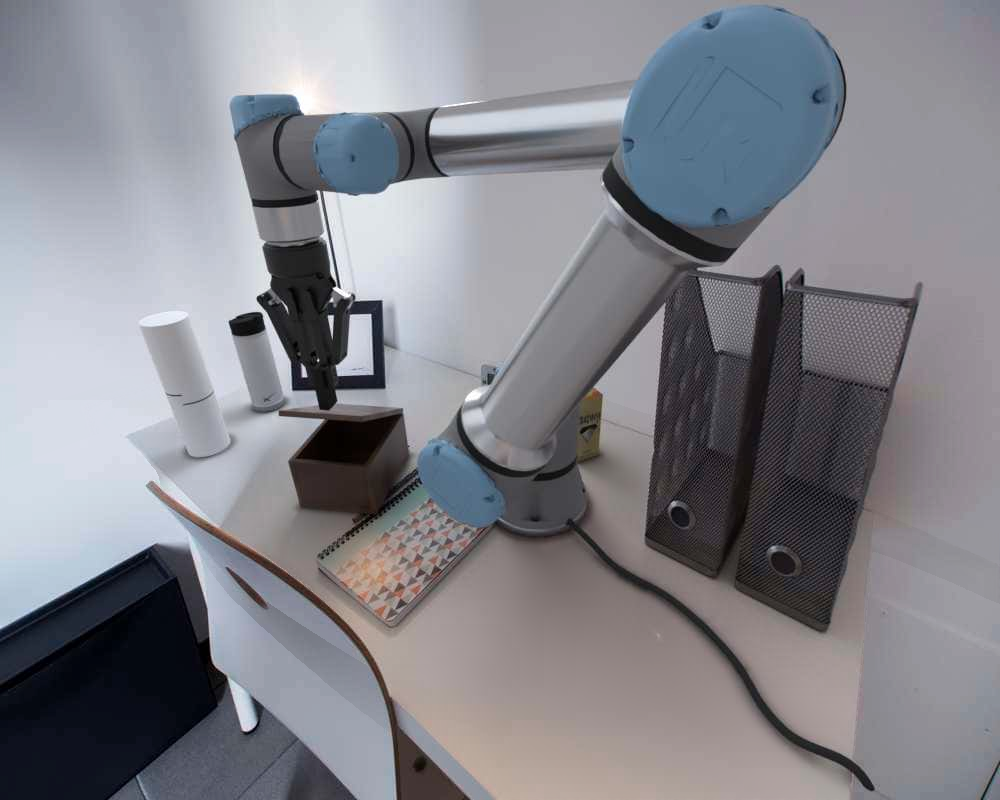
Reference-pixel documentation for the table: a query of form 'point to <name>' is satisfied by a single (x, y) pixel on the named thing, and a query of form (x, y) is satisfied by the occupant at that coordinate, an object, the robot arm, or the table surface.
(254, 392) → the travel mug
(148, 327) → the cylindrical container
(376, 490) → the keepsake box
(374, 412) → the lid
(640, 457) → the table surface
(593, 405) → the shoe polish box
